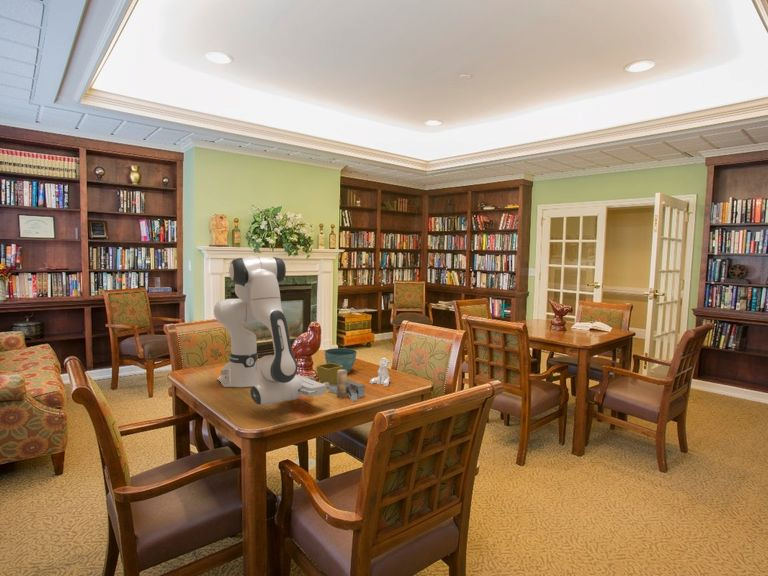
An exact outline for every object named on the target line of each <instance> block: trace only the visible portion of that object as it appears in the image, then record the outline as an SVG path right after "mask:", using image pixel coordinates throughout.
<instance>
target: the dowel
mask: <svg viewBox="0 0 768 576" xmlns="http://www.w3.org/2000/svg"><path fill="white" fill-rule="evenodd" d="M347 379H348V373H347V370H338V374H337V393H336V396H337V398H339V397H341V398H340V399H342V398H343V397H344V398H347V397H346V396H347ZM344 398H343V399H344Z"/></svg>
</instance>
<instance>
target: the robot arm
mask: <svg viewBox="0 0 768 576" xmlns="http://www.w3.org/2000/svg"><path fill="white" fill-rule="evenodd" d="M228 273H229V278H230V280H231V282H233V284H235V285H234V292H235V295H236V296H237V297H238V298H226V299H222V300H218V301H217V302H216V304H215V305H214V308H213V315H214V317H215V320H217V321H218V322H219V323H220V324H221V325H223V326H224V327H225V329H226V330H227V332H228V334H229V337H230V346H231V347H230V349H231V352H229V359H228V360H229V361H228V362H227V363H226V364H225V365H224V366H223V367H222V369H221V370H220V374H221V375H220V376H218V377H216V380H217V379H218V380H219V381H220V382H221V383H220V382H219V381H218V380H217V381H218V382H219V383H220V384H221V385H222V387H224V388H249V387H250V396H251V399H252V400H253V402H254V403H255V404H256V405H259V406H269V405H270V406H271V405H275V404H279V403H280V402H282V401H283V402H288V401H292V400H296V399H299V398H300V397H301V396H302V395H305V396H308V397H317V396H322V395H323V396H324V395H325V394H326V393H327V388H329V383H328V382H324V383H323V384H322V383H321V382H320V381H316V377H314V376H312V377H307V376H306V377H305V376H302V375H300V374H298V367H299V366H298V362H297V360H296V357H295V355H294V352H293V349H292V343H291V338H290V332H289V328H288V323H287V318H286V316H285V314H284V311H283V307H282V300H281V298H282V297H281V293H280V292H281V291H280V286H279V285H280V284H279V283H281V282H283V281H284V280H285V278H286V275H287V267H286V263H285V261H284V260H283V259H282V258H280V257H276V256H275V257H274V256H273V257H268V256H255V255H248V256H246V257H238V258H235V259H233V260H231V262H230V264H229V268H228ZM246 323H261V324H263V325H264V326H265V327H267V329H268V330H269V332H270V334H271V339H272V340H271V341H272V346H273V352H274V354H273V355H272V354H271V355H270V354H269V355H263V356H262V357H260V358H259V359H258V357H259V356H258V354H259V353H258V352H257V348H258V347H257V339H258V338H257V335H256V333H254V331H251V330H249V329H246V328H245V327H244V324H246Z"/></svg>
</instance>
